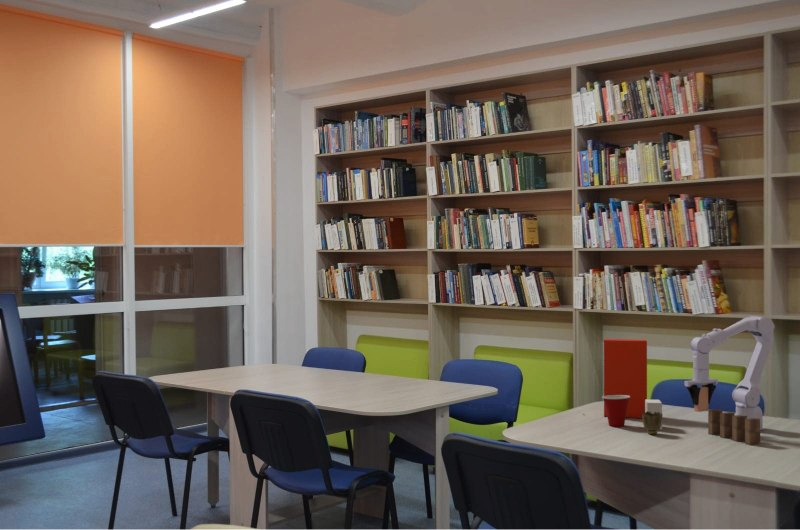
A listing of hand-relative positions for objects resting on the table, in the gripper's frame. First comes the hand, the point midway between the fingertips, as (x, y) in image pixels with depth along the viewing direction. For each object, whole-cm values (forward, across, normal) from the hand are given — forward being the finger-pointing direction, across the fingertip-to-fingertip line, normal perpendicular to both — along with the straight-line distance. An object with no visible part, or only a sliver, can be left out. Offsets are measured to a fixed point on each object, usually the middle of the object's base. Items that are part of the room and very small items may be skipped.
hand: (701, 404), depth 310 cm
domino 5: (+10, -1, +24) cm, 26 cm away
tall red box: (+10, +8, -36) cm, 38 cm away
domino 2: (+10, -1, +6) cm, 12 cm away
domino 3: (+10, -1, +12) cm, 16 cm away
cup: (+10, +21, -3) cm, 24 cm away
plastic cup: (+10, +24, -21) cm, 33 cm away
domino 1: (+3, 0, 0) cm, 3 cm away
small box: (+10, +13, -12) cm, 20 cm away
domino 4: (+10, -1, +18) cm, 21 cm away
